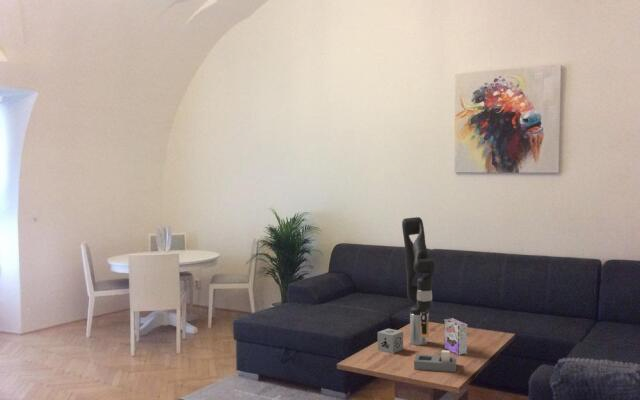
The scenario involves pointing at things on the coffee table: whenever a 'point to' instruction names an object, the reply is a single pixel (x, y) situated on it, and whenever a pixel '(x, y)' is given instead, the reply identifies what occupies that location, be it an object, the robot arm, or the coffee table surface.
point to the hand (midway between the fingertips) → (424, 332)
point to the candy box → (455, 336)
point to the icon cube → (390, 340)
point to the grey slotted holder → (436, 362)
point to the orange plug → (427, 330)
